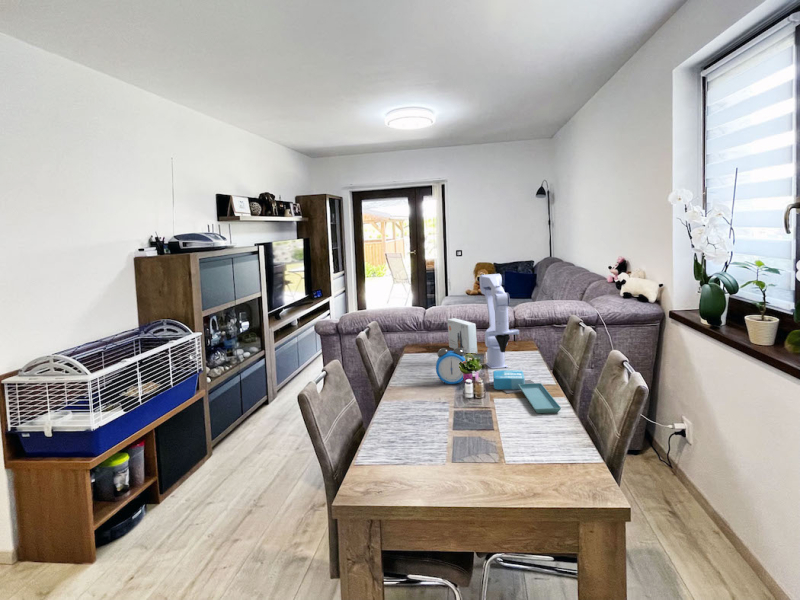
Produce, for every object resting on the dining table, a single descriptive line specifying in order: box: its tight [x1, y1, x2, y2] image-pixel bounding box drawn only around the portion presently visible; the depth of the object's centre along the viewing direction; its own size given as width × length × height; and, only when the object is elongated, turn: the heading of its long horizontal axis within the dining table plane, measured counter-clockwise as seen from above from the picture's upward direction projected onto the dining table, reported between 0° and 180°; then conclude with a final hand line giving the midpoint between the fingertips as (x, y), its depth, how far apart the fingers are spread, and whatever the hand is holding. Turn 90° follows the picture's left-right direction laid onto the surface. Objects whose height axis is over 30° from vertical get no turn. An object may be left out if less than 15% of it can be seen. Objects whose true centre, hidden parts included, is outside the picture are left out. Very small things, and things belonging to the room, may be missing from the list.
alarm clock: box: [435, 347, 466, 385], centre depth 219 cm, size 13×6×15 cm, turn 85°
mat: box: [501, 379, 535, 395], centre depth 209 cm, size 13×15×1 cm
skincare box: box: [446, 317, 478, 354], centre depth 275 cm, size 21×5×16 cm, turn 25°
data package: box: [492, 369, 526, 390], centre depth 211 cm, size 12×4×12 cm
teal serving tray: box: [518, 382, 562, 414], centre depth 191 cm, size 26×9×2 cm, turn 0°
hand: (502, 351), depth 225 cm, fingers closed
